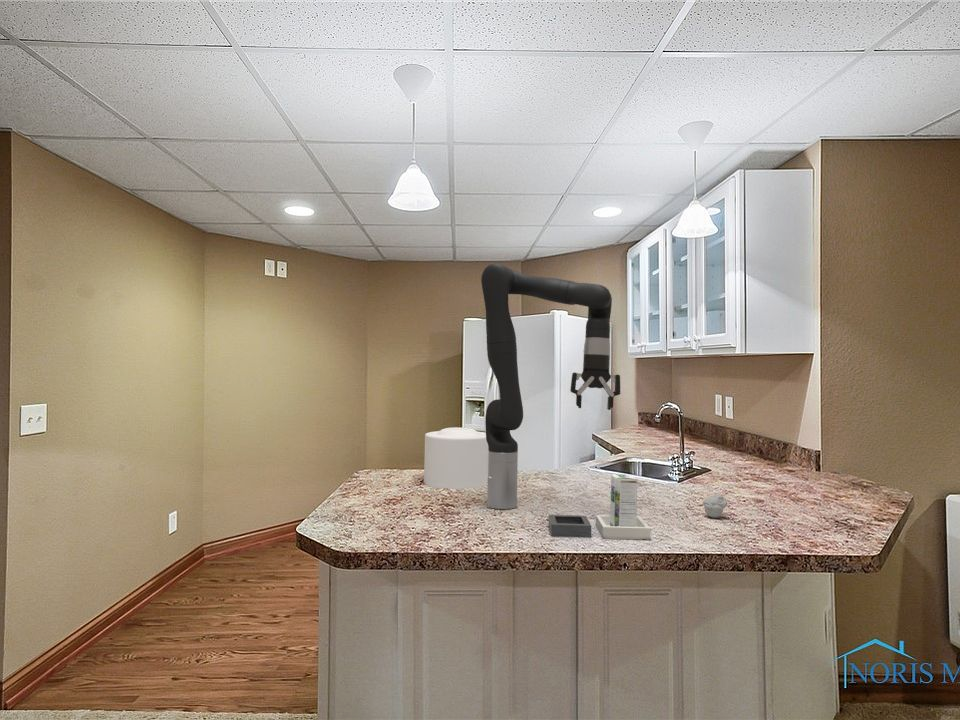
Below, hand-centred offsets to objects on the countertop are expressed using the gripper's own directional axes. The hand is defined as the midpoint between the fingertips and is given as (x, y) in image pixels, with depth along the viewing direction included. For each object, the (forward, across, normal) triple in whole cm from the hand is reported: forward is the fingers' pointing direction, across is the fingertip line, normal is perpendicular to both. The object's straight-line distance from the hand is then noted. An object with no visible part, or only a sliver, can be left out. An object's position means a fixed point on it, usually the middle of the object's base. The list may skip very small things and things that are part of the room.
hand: (594, 408), depth 170 cm
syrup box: (+31, +7, -15) cm, 35 cm away
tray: (+32, +7, -15) cm, 36 cm away
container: (+32, -44, +46) cm, 71 cm away
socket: (+32, -7, -15) cm, 36 cm away
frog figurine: (+31, +37, +5) cm, 49 cm away
